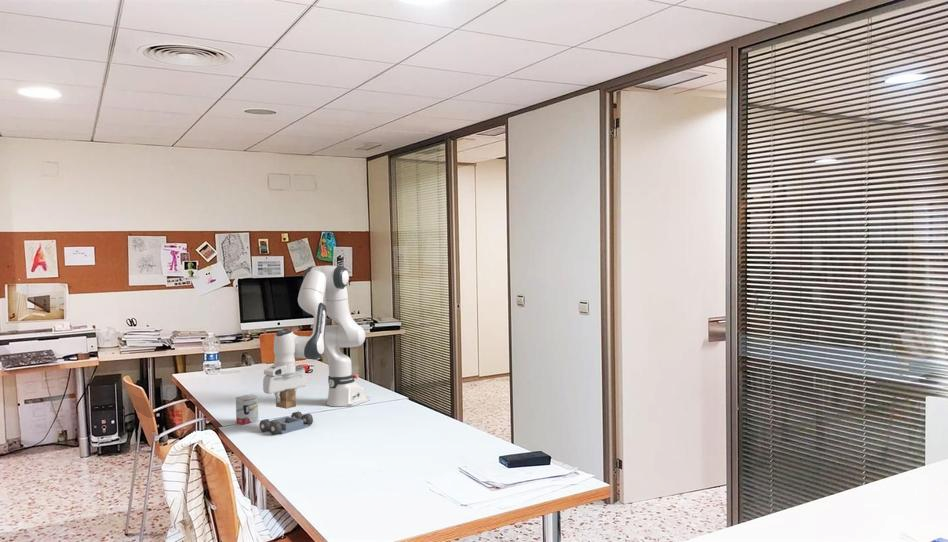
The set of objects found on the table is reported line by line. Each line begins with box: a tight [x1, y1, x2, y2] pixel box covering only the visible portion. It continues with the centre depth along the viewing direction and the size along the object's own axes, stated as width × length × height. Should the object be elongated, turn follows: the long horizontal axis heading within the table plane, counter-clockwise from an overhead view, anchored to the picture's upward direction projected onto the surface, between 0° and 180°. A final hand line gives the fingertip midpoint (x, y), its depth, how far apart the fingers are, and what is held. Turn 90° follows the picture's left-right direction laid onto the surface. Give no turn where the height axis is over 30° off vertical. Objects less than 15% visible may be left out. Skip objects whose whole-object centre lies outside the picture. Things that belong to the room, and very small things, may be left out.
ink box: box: [235, 393, 259, 426], centre depth 303 cm, size 9×5×12 cm, turn 143°
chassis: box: [259, 410, 314, 436], centre depth 291 cm, size 19×12×5 cm, turn 143°
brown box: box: [275, 388, 297, 410], centre depth 291 cm, size 5×7×8 cm
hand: (285, 400), depth 291 cm, fingers closed on brown box, 5 cm apart
